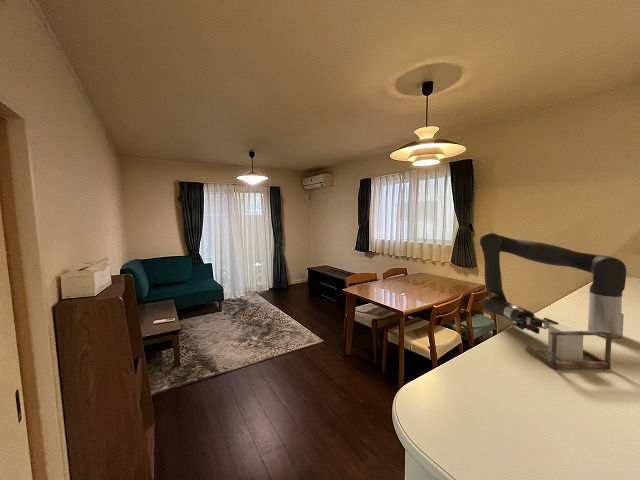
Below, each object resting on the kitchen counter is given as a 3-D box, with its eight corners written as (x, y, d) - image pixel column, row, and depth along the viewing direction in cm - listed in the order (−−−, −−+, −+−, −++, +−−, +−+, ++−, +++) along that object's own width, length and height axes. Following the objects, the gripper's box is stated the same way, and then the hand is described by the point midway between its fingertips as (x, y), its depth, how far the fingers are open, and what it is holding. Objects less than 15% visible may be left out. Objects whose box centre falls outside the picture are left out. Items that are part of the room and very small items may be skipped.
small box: (583, 363, 86) (584, 333, 85) (564, 362, 87) (565, 333, 86) (564, 352, 94) (565, 324, 93) (547, 351, 95) (548, 323, 94)
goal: (575, 351, 96) (577, 318, 95) (611, 369, 83) (612, 332, 83) (525, 351, 96) (526, 318, 96) (553, 369, 84) (554, 332, 84)
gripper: (502, 307, 112) (531, 321, 96) (535, 307, 112) (570, 321, 96) (501, 324, 113) (530, 341, 97) (535, 323, 112) (569, 340, 96)
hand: (550, 331), depth 96 cm, fingers open, 8 cm apart
